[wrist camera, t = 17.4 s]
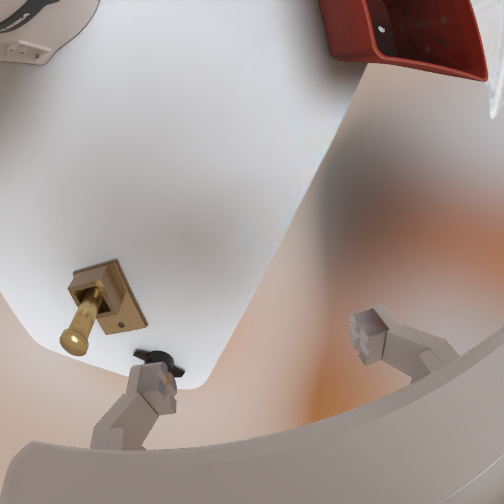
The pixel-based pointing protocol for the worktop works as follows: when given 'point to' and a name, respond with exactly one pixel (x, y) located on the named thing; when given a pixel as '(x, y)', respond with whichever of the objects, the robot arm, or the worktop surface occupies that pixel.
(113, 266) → the brass socket plate
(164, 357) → the black ring with tabs
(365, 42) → the plant pot
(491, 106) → the worktop surface
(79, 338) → the hinge pin
